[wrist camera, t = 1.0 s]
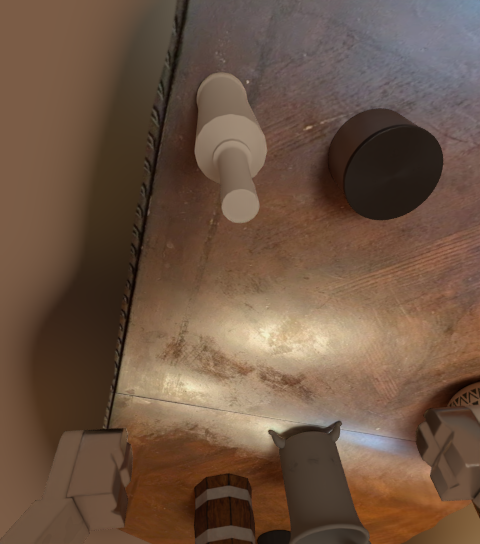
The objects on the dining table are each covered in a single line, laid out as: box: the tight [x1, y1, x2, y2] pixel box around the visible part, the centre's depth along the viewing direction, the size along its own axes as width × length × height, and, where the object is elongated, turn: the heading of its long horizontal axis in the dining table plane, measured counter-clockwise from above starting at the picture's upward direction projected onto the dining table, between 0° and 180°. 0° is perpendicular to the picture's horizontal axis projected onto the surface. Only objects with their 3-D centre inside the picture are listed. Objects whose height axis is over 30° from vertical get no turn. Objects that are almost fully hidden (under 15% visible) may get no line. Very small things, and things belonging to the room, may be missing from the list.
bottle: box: [194, 72, 267, 223], centre depth 31 cm, size 5×5×25 cm
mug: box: [194, 474, 256, 544], centre depth 87 cm, size 20×14×15 cm
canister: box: [328, 108, 443, 220], centre depth 43 cm, size 10×10×7 cm
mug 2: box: [269, 421, 371, 544], centre depth 72 cm, size 19×15×25 cm
